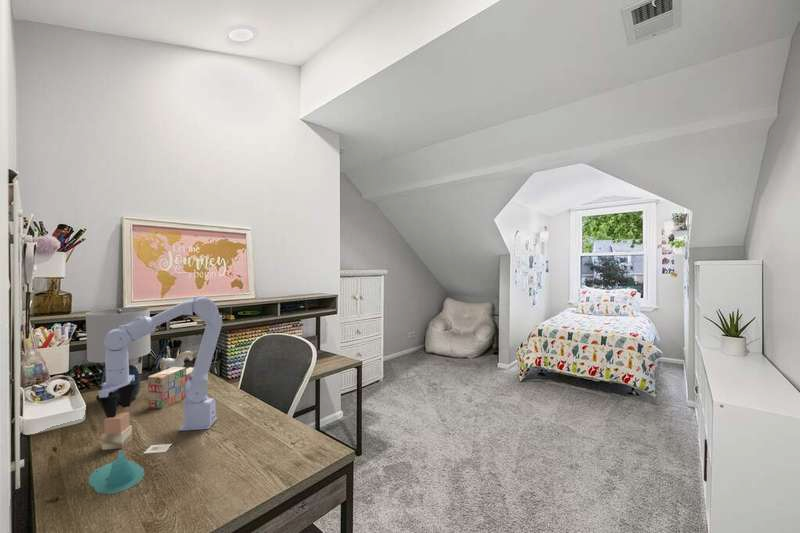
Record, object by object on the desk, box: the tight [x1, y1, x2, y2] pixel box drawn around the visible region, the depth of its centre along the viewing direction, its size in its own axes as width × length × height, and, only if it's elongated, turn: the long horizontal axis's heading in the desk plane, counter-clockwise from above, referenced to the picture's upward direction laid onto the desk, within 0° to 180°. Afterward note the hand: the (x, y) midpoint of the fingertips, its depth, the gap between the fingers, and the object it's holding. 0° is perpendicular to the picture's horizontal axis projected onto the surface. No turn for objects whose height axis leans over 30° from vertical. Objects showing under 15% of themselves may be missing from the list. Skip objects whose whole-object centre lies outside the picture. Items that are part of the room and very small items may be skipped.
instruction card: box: [142, 443, 173, 455], centre depth 111 cm, size 6×4×1 cm
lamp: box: [85, 306, 152, 404], centre depth 149 cm, size 20×20×37 cm
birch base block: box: [101, 424, 133, 450], centre depth 114 cm, size 6×6×4 cm
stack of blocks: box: [147, 366, 194, 409], centre depth 152 cm, size 21×6×12 cm, turn 169°
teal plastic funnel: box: [88, 449, 146, 495], centre depth 98 cm, size 12×20×9 cm, turn 51°
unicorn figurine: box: [159, 349, 199, 372], centre depth 175 cm, size 7×20×13 cm, turn 91°
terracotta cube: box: [103, 412, 131, 434], centre depth 114 cm, size 4×4×4 cm
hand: (118, 411), depth 115 cm, fingers open, 7 cm apart
